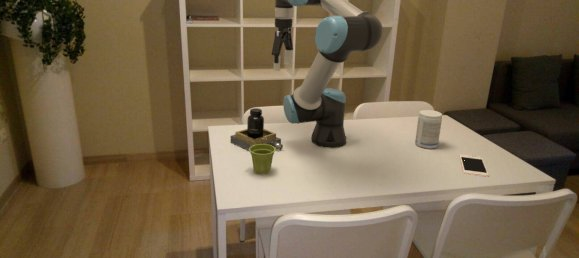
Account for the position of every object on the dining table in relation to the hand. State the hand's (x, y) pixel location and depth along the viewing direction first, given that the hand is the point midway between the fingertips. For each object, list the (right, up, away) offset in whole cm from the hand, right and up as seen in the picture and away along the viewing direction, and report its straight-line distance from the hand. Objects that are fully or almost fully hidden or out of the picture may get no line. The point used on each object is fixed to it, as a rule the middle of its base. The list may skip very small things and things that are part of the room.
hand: (282, 67), depth 192 cm
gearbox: (-10, -34, -10) cm, 37 cm away
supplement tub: (+63, -34, -3) cm, 71 cm away
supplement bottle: (-11, -31, -10) cm, 34 cm away
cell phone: (+75, -42, -21) cm, 89 cm away
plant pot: (-7, -43, -33) cm, 54 cm away
